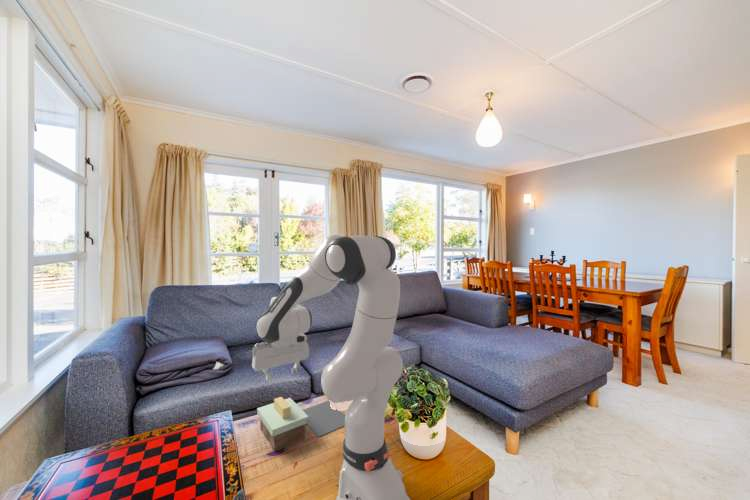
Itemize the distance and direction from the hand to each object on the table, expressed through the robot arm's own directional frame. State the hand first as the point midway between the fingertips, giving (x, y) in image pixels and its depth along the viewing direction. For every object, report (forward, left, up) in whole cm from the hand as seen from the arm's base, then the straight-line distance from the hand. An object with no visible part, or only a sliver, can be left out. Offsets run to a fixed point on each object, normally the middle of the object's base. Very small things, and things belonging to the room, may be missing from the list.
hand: (281, 376), depth 109 cm
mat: (0, -17, -21) cm, 27 cm away
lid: (0, 0, -15) cm, 15 cm away
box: (0, 0, -21) cm, 21 cm away
